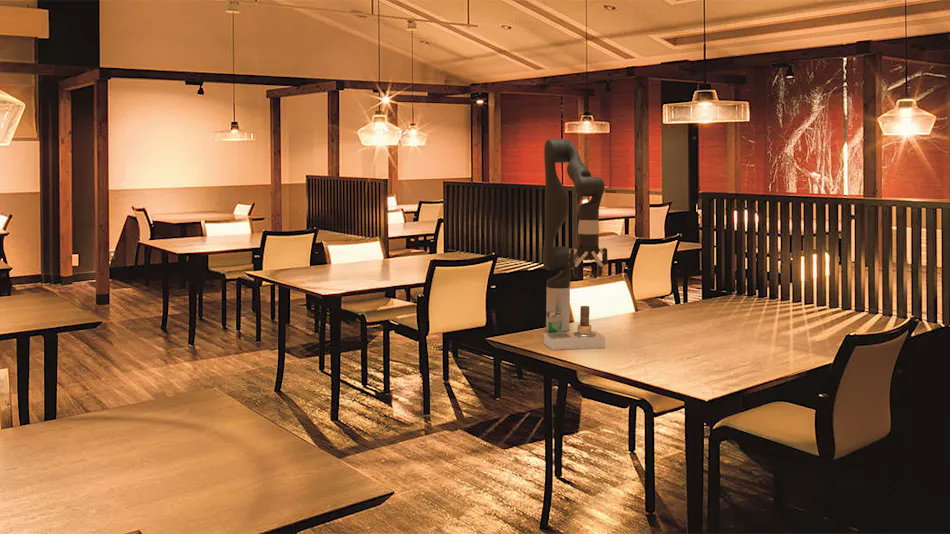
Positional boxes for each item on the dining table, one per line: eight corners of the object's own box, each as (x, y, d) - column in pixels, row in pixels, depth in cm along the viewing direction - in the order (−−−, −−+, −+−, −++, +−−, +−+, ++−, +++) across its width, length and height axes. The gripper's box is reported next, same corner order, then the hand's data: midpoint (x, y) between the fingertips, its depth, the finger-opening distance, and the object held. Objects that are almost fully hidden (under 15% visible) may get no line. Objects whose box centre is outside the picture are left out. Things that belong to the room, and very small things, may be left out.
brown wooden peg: (575, 332, 318) (576, 305, 317) (588, 332, 319) (589, 305, 318) (580, 335, 313) (580, 308, 312) (593, 334, 314) (593, 307, 313)
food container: (564, 343, 319) (565, 316, 318) (548, 343, 320) (548, 316, 318) (562, 336, 332) (562, 310, 330) (546, 336, 332) (546, 310, 331)
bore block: (543, 343, 319) (543, 332, 319) (595, 341, 323) (595, 330, 322) (551, 349, 308) (551, 338, 308) (605, 347, 312) (605, 336, 312)
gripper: (604, 231, 317) (602, 274, 319) (566, 231, 314) (565, 275, 316) (610, 233, 309) (609, 277, 312) (572, 233, 307) (571, 278, 309)
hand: (587, 276), depth 314 cm, fingers open, 8 cm apart
